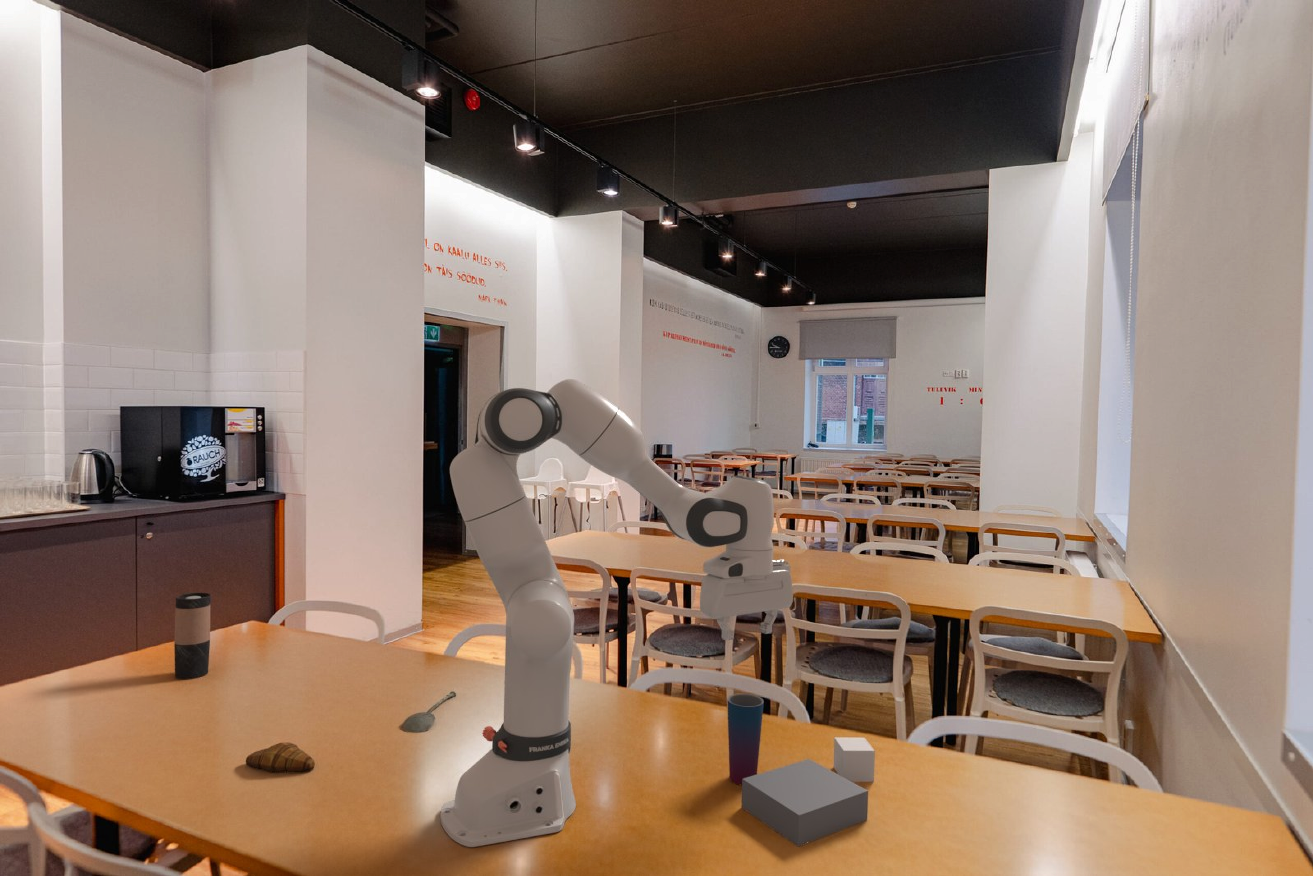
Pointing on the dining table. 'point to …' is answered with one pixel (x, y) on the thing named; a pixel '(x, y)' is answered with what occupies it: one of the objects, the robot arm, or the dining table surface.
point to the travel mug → (192, 635)
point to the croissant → (281, 759)
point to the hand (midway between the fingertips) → (747, 636)
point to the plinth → (804, 801)
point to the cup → (744, 735)
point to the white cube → (854, 759)
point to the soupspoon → (423, 718)
